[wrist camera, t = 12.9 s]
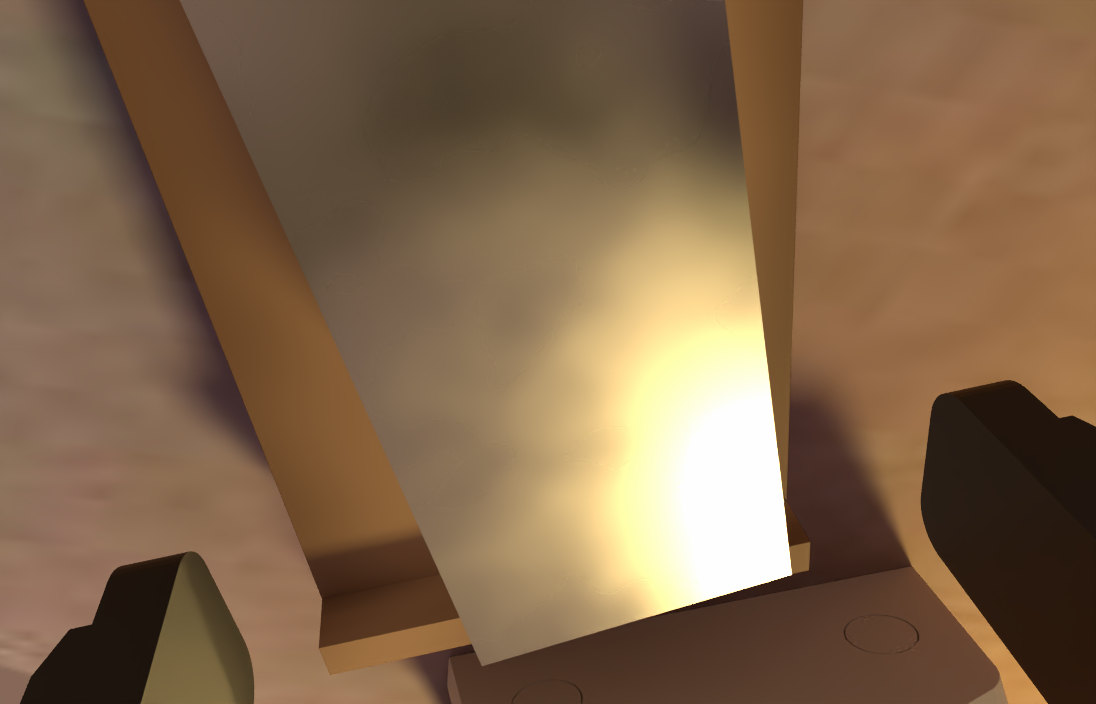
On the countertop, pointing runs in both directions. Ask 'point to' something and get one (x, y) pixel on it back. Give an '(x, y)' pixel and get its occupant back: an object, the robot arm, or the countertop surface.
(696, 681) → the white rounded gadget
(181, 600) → the robot arm
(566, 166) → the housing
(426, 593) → the stand
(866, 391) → the countertop surface
